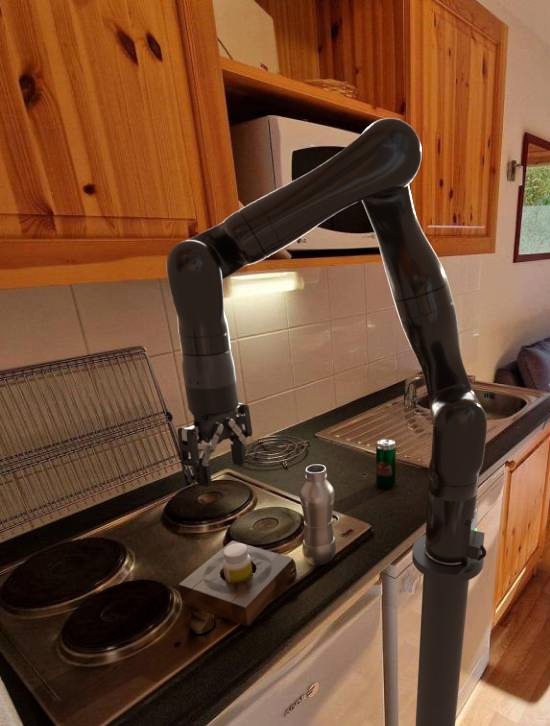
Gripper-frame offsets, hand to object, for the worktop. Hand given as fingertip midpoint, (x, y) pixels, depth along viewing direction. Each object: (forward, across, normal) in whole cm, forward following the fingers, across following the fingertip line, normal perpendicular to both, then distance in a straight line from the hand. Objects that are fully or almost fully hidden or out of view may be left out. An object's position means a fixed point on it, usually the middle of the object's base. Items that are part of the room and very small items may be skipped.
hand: (223, 473), depth 80 cm
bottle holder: (+22, -1, -1) cm, 23 cm away
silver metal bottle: (+23, +12, -10) cm, 28 cm away
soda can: (+23, +46, -11) cm, 52 cm away
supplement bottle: (+23, -1, -1) cm, 23 cm away
